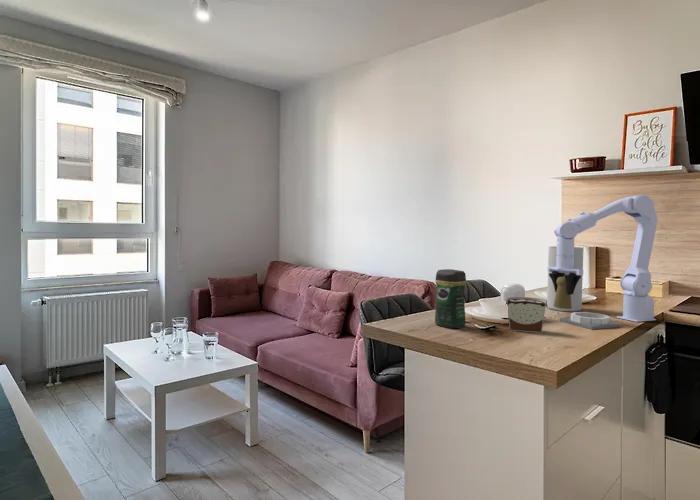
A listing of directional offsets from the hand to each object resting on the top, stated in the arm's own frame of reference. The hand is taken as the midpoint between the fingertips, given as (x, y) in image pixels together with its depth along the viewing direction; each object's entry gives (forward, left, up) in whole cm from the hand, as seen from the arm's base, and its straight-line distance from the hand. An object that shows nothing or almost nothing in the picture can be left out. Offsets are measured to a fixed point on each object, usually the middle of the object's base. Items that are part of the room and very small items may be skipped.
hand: (564, 293), depth 160 cm
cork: (0, 0, -5) cm, 5 cm away
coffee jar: (+47, -1, -9) cm, 48 cm away
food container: (+27, +11, -9) cm, 31 cm away
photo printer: (+18, -6, -9) cm, 21 cm away
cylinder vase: (-14, -14, -9) cm, 21 cm away
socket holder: (0, +11, -9) cm, 14 cm away
